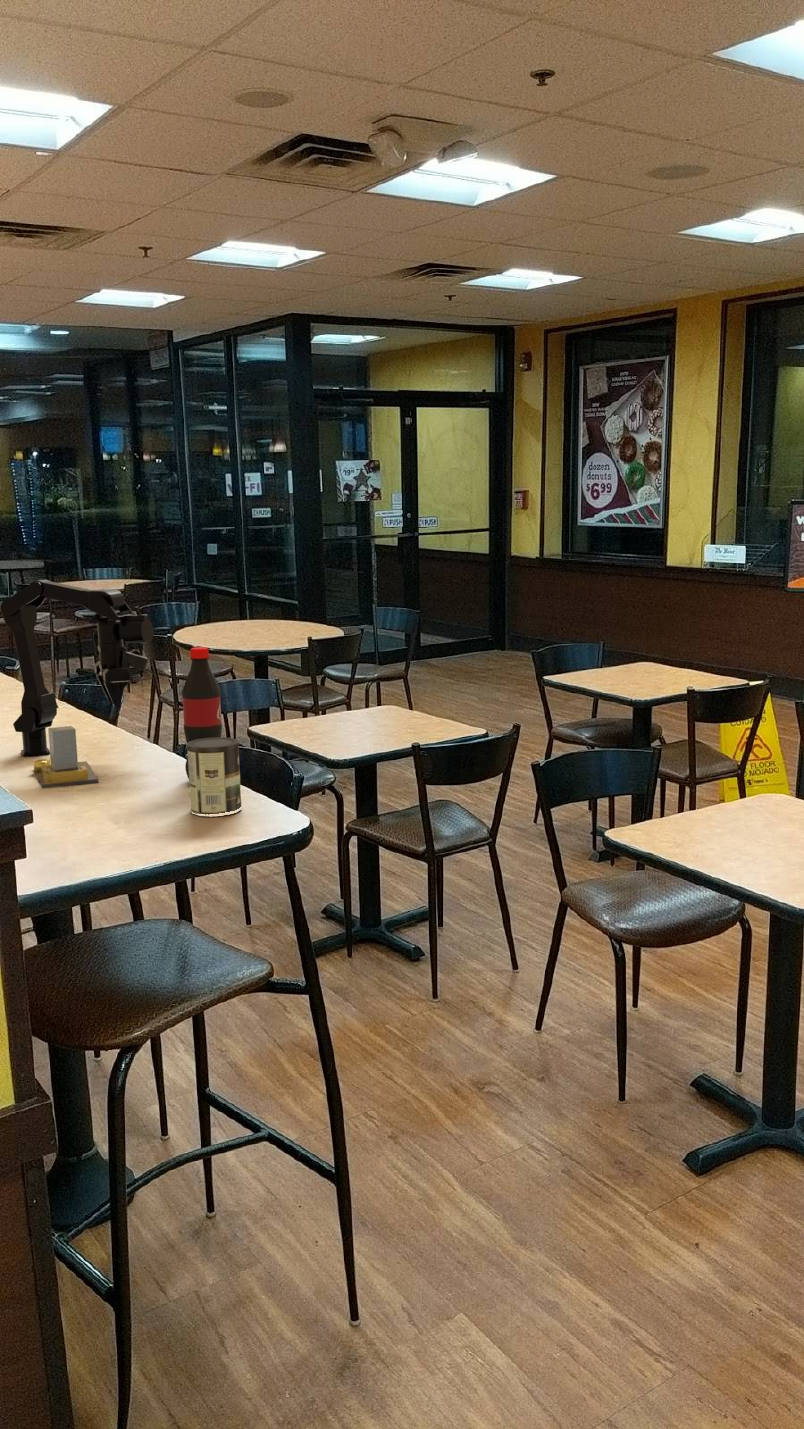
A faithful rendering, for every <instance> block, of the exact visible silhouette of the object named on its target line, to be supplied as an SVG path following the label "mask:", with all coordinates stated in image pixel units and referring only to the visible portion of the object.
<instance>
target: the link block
mask: <svg viewBox="0 0 804 1429" xmlns="http://www.w3.org/2000/svg"><path fill="white" fill-rule="evenodd" d="M47 728H48V729H47V730H48V731H47V732H48V733H47V734H48V743H49V744H48V745H49V751H50V754H49V756H50V758H49V760H50V765H51V772H61V771H71V770H78V762H79V761H78V760H79V759H78V748H77V747H78V745H77V732H76V728H74V727H73V726H72V725H69V726H68V725H67V726H56V727H47Z"/></svg>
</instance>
